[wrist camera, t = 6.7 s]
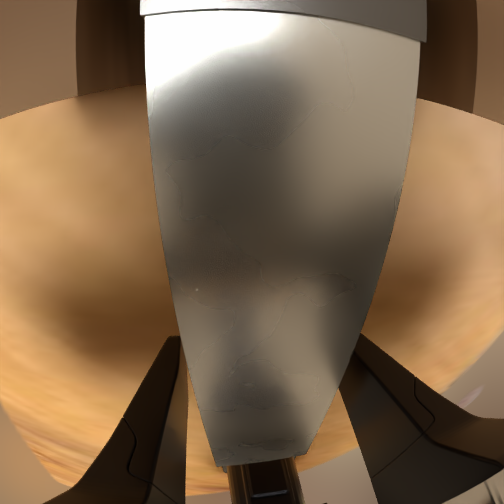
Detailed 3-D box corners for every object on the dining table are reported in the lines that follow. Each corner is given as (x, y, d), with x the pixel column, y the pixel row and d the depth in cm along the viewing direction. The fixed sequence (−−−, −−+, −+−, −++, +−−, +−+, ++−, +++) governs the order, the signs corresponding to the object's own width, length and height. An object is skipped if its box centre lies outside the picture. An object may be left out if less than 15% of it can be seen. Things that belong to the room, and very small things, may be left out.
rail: (283, 371, 16) (307, 455, 11) (207, 379, 15) (215, 468, 11) (317, 14, 7) (425, -20, 3) (175, 9, 6) (144, -57, 2)
